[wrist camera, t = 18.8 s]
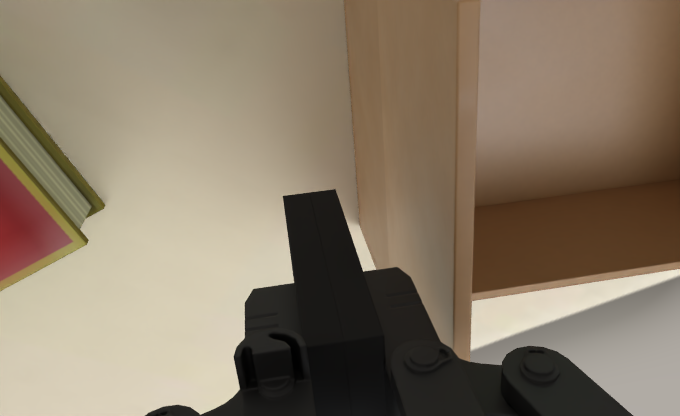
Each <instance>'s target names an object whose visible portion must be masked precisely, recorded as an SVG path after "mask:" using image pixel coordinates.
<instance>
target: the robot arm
mask: <svg viewBox="0 0 680 416" xmlns="http://www.w3.org/2000/svg"><path fill="white" fill-rule="evenodd" d="M283 201H284V208H285V216H286V223H287V231H288V238H289V246H290V253H291V261H292V269H293V276H294V283H292V284H285V285H278V286H271V287H264V288H257V289H253V291H252V292H251V294H250V296H249V297H248V299H247V300H246V302H245V339H244V340H243V341H242V342H241V343H240V344H239V345H238V346H237V348H236V351H235V354H234V361H235V366H236V371H237V376H238V381H239V385H240V390H239V391H238V392H237V394H236V395H235V396H234V397H233V398H232V399H230V400H229V401H228V402H226V403H225V404H223V405H221V406H219V407H217V408H215V409H213V410H211V411H209V412H206V413H204V414H201V415H200V414H199V413H198V412H196V411H195V410H193V409H192V408H191V407H186V406H181V405H173V406H166V407H162V408H159V409H157V410H154V411H152V412H150V413H148V414H147V415H145V416H633V415H632V414H631V413H629V412H628V411H627V410H626V409H625V408H624V407H623V406H621V405H620V404H619V403H618V402H617V401H616V400H615V399H613V398H612V397H611V396H610V395H609V394H608V393H607V392H605V391H604V390H603V389H602V388H601V387H600V386H599V385H597V384H596V383H595V382H594V381H593V380H592V379H591V378H589V377H588V376H587V375H586V374H585V373H584V372H583V371H581V370H580V369H579V368H578V367H577V366H576V365H575V364H573V363H572V362H571V361H570V360H569V359H568V358H566V357H564V356H563V355H561V354H560V353H558V352H557V351H553V350H550V349H547V348H544V347H535V346H527V347H521V348H517V349H515V350H513V351H511V352H510V353H508V354H507V355H506V357H505V358H504V360H503V361H502V365H491V364H480V363H474V362H469V361H466V360H463V359H460V358H458V356H457V355H456V353H455V352H454V351H453V350H452V348H450V347H449V346H447V345H445V344H443V343H442V342H441V341H440V339H439V337H438V335H437V332H436V330H435V328H434V326H433V324H432V322H431V319H430V317H429V315H428V313H427V311H426V309H425V307H424V304H422V300H421V298H420V296H419V294H418V293H417V289H416V287H415V285H414V283H413V281H412V278H411V277H410V276H409V275H407V274H406V273H405V272H403V271H402V270H401V269H400V268H398V267H392V268H385V269H379V270H372V271H365V272H363V270H362V267H361V264H360V261H359V258H358V255H357V252H356V249H355V246H354V243H353V240H352V237H351V234H350V231H349V228H348V225H347V222H346V219H345V216H344V213H343V210H342V207H341V204H340V201H339V198H338V196H337V193H336V190H335V189H334V190H326V191H318V192H311V193H303V194H295V195H288V196H283Z"/></svg>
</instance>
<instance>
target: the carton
mask: <svg viewBox="0 0 680 416" xmlns="http://www.w3.org/2000/svg"><path fill="white" fill-rule="evenodd" d="M344 8H345V23H346V37H347V51H348V66H349V80H350V94H351V108H352V123H353V137H354V151H355V166H356V180H357V194H358V209H359V223H360V228H361V230H362V233H363V236H364V238H365V241H366V244H367V246H368V249H369V251H370V254H371V257H372V259H373V262H374V265H375V267H376V270H379V269H385V268H389V251H388V229H387V207H386V185H385V163H384V142H383V120H382V98H381V76H380V54H379V32H378V10H377V0H344ZM675 269H680V0H480V35H479V69H478V103H477V137H476V171H475V205H474V238H473V272H472V301H474V300H481V299H487V298H494V297H500V296H507V295H513V294H520V293H526V292H532V291H539V290H545V289H552V288H558V287H565V286H571V285H578V284H584V283H591V282H597V281H604V280H610V279H617V278H623V277H629V276H636V275H642V274H649V273H655V272H662V271H668V270H675Z"/></svg>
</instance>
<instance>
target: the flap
mask: <svg viewBox="0 0 680 416" xmlns="http://www.w3.org/2000/svg"><path fill="white" fill-rule="evenodd" d="M377 10H378V32H379V54H380V76H381V98H382V120H383V142H384V163H385V185H386V207H387V229H388V251H389V268H392V267H398V268H400V269H401V270H402V271H403V272H405V273H406V274H407V275H409V276H410V277H411V278H412V281H413V283H414V285H415V287H416V289H417V293H418V294H419V296H420V298H421V300H422V304H424V307H425V309H426V311H427V313H428V315H429V317H430V319H431V322H432V324H433V326H434V328H435V330H436V332H437V335H438V337H439V339H440V341H441V342H442V343H443V344H445V345H447V346H449V347H450V348H452V350H453V351H454V352H455V353H456V355H457V356H458V358H460V359H463V360H466V361H469V362H470V340H471V306H472V272H473V238H474V205H475V171H476V137H477V103H478V69H479V35H480V0H377Z"/></svg>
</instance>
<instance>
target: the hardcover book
mask: <svg viewBox="0 0 680 416" xmlns="http://www.w3.org/2000/svg"><path fill="white" fill-rule="evenodd" d="M104 207H105V204H104V203H103V202H102V200H101V199H100V198H99V197H98V196H97V194H96V193H95V192H94V191H93V189H92V188H91V187H90V186H89V184H88V183H87V182H86V181H85V180H84V178H83V177H82V176H81V175H80V173H79V172H78V171H77V170H76V168H75V167H74V166H73V165H72V163H71V162H70V161H69V160H68V159H67V157H66V156H65V155H64V154H63V152H62V151H61V150H60V149H59V147H58V146H57V145H56V144H55V143H54V141H53V140H52V139H51V138H50V136H49V135H48V134H47V133H46V131H45V130H44V129H43V128H42V126H41V125H40V124H39V123H38V122H37V120H36V119H35V118H34V117H33V115H32V114H31V113H30V112H29V110H28V109H27V108H26V107H25V106H24V104H23V103H22V102H21V101H20V99H19V98H18V97H17V96H16V94H15V93H14V92H13V91H12V89H11V88H10V87H9V86H8V85H7V83H6V82H5V81H4V80H3V78H2V77H1V76H0V291H1V290H3V289H5V288H7V287H9V286H11V285H13V284H14V283H16V282H18V281H20V280H22V279H24V278H26V277H27V276H29V275H31V274H33V273H35V272H37V271H39V270H40V269H42V268H44V267H46V266H48V265H50V264H51V263H53V262H55V261H57V260H59V259H61V258H63V257H64V256H66V255H68V254H70V253H72V252H74V251H76V250H77V249H79V248H81V247H83V246H85V245H87V243H88V241H89V240H88V239H87V237H86V236H85V235H84V234H83V233H82V232H81V230H80V228H81V226H82V224H83V222H84V220H85V219H86V218H87V217H89V216H91V215H93V214H95V213H97V212H98V211H100V210H102V209H104Z"/></svg>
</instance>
